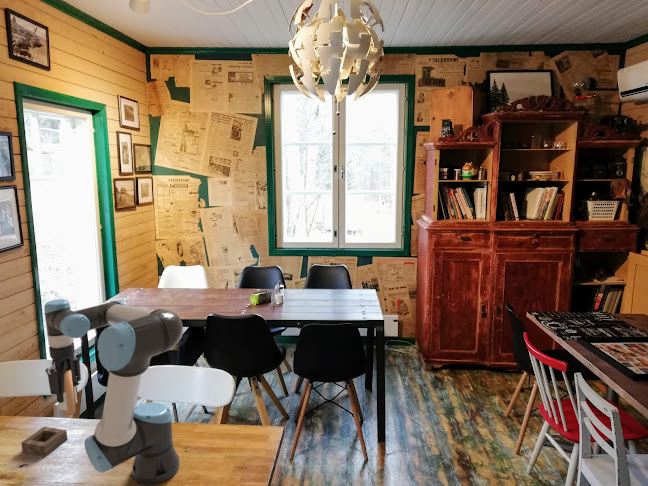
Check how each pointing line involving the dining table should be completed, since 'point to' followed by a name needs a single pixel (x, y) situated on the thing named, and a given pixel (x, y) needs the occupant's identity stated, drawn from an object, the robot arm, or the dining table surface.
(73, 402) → the peg
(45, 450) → the socket block
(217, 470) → the dining table surface
